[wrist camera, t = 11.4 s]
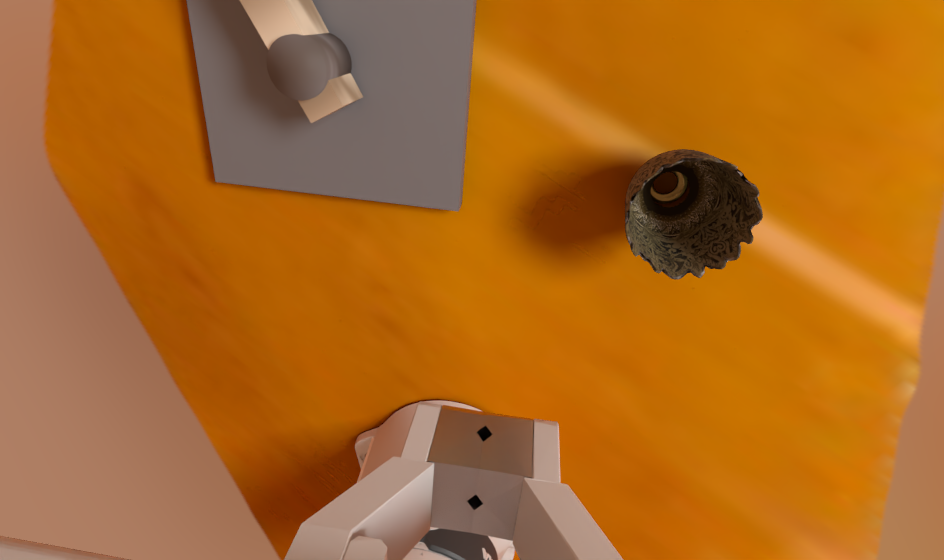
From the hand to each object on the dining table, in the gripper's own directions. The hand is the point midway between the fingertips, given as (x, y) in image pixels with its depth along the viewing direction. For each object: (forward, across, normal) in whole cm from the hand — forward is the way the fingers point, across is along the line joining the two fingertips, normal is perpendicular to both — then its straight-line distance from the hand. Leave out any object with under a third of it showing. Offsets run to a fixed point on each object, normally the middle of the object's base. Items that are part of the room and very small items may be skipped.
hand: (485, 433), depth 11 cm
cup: (+29, -10, +2) cm, 31 cm away
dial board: (+29, +14, -6) cm, 33 cm away
